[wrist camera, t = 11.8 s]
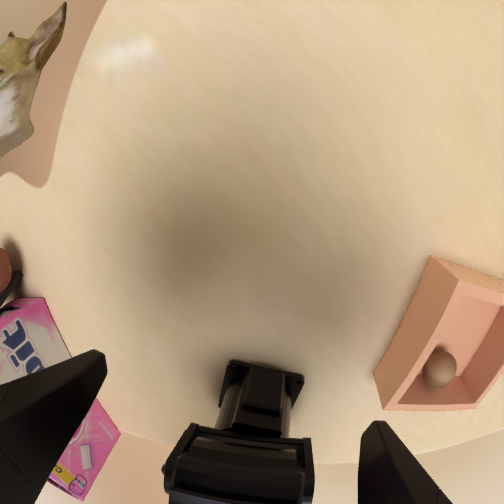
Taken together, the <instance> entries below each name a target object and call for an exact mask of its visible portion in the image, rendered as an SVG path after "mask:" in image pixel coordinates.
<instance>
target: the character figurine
mask: <svg viewBox="0 0 504 504" xmlns="http://www.w3.org/2000/svg"><path fill="white" fill-rule="evenodd" d="M22 275H23V274H22V273H21V271H14V272H12V265H11V261H10V259H9V256H8V255H7V253H6V252H5V251H4V250H3V249H2V248H0V307H1V306H2V304H3V303H4V301H5V300H6V298H7V297H8V295H9V294H10V292H11V291H12V289H13V288H14V287H15V285H16V284H17V282H18V281H19V280H20V278H21V277H22Z"/></svg>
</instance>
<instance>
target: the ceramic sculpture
mask: <svg viewBox="0 0 504 504" xmlns="http://www.w3.org/2000/svg"><path fill="white" fill-rule="evenodd" d="M66 9H67V3H66V2H64V3H63V4H62V5H61V7H60V8H59V9H58V10H57V11H56V12H55V14H54V15H53V16H52V17H50V18H48V19H47V20H46V21H44V22H43V23H42V24H41V25H40V26H39V28H38V29H37V30H36V32H35V33H34V35H32V37H31V38H29V39H23V38H16V37H15V35H14V33H13V32H10V33H9V35H8V38H7V39H5V40H3V41H1V42H0V158H1V157H3V156H4V155H5V154H6V153H7V152H8V151H10V150H12V149H13V148H15V147H17V146H18V145H20V144H21V143H23V142H24V141H25V140H26V139H28V138H29V137H30V136H31V135H32V134H33V131H34V128H33V125H32V123H31V120H30V117H29V111H30V107H31V103H32V99H33V95H34V92H35V89H36V87H37V84H38V81H39V77H40V74H41V71H42V68H43V67H44V65H45V64H46V62H47V61H48V59H49V58H50V56H51V55H52V53H53V52H54V50H55V48H56V47H57V46H58V44H59V42H60V40H61V38H62V34H63V29H64V25H65V20H66Z"/></svg>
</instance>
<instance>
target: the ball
mask: <svg viewBox="0 0 504 504" xmlns="http://www.w3.org/2000/svg"><path fill="white" fill-rule="evenodd" d="M456 371H457V363H456V360H455V358H454V357H453V355H452V354H450V353H449V352H446V351H438V352H435V353H433V354H432V355H430V356H429V358H428V359H427V361H426V362H425V364H424V365H423V368H422V376H423V379H424V381H425V383H426V384H427V385H428V386H430V387H432V388H442V387H444V386H446V385H448V384H449V383H450V382H451V381H452V380H453V378H454V376H455V374H456Z"/></svg>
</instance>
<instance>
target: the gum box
mask: <svg viewBox="0 0 504 504" xmlns="http://www.w3.org/2000/svg"><path fill="white" fill-rule="evenodd" d="M70 358H71V356H70V354H69V352H68V350H67V348H66V346H65V344H64V342H63V340H62V338H61V336H60V334H59V332H58V330H57V327H56V325H55V323H54V321H53V319H52V317H51V315H50V312H49V310H48V308H47V305H46V303H45V300H44V298H15V299H13V300H12V301H10V302H9V303H7V304H6V305H4V306H3V307H1V308H0V385H1V384H4V383H7V382H10V381H12V380H15V379H18V378H20V377H23V376H26V375H28V374H31V373H34V372H36V371H39V370H41V369H44V368H47V367H49V366H52V365H54V364H57V363H60V362H62V361H65V360H67V359H70ZM120 435H121V433H120V432H119V431H118V429H117V428H116V427H115V425H114V424H113V423H112V421H111V420H110V418H109V417H108V415H107V414H106V412H105V411H104V410H103V408H102V407H101V406H100V404H99V403H98V401H97V399H96V398H95V400H94V402H93V404H92V406H91V408H90V410H89V412H88V413H87V415H86V417H85V418H84V420H83V421H82V423H81V424H80V426H79V428H78V429H77V431H76V432H75V434H74V436H73V437H72V439H71V441H70V442H69V444H68V446H67V447H66V449H65V450H64V452H63V454H62V455H61V457H60V459H59V461H58V462H57V464H56V466H55V467H54V469H53V471H52V473H51V474H50V476H49V478H48V479H47V481H48V482H49V483H51V484H53V485H54V486H56V487H57V488H59V489H61V490H62V491H64V492H66V493H68V494H70V495H71V496H73V497H75V498H77V499H79V500H80V501H84V498H85V497H86V495H87V494H88V492H89V490H90V488H91V486H92V484H93V482H94V480H95V478H96V477H97V475H98V473H99V472H100V470H101V468H102V466H103V465H104V463H105V461H106V459H107V457H108V455H109V454H110V452H111V450H112V448H113V447H114V445H115V443H116V442H117V440H118V438H119V436H120Z"/></svg>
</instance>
